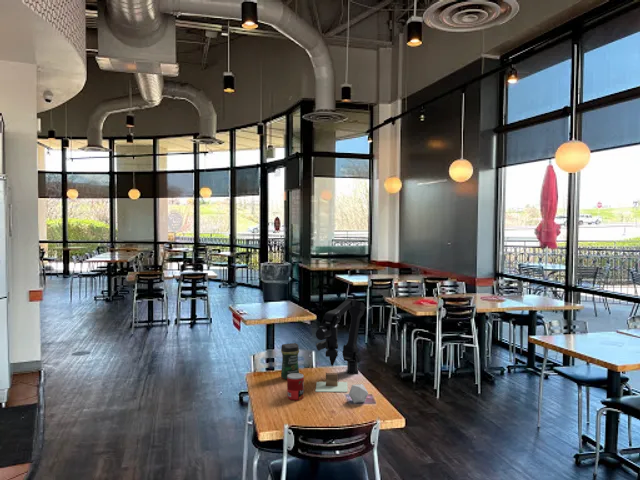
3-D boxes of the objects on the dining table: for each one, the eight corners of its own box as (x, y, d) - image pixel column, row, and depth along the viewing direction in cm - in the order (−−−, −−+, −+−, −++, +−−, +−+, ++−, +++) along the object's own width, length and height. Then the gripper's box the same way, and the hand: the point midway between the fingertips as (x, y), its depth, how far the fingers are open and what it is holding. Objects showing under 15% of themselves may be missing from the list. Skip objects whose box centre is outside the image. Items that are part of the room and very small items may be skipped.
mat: (316, 382, 247) (316, 381, 247) (347, 382, 246) (347, 381, 246) (315, 392, 233) (315, 391, 233) (347, 392, 232) (347, 391, 232)
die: (364, 407, 214) (373, 388, 218) (347, 398, 214) (356, 379, 218) (359, 407, 222) (368, 388, 226) (343, 398, 222) (352, 380, 226)
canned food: (301, 401, 221) (301, 378, 221) (285, 400, 223) (285, 377, 222) (305, 395, 229) (305, 373, 228) (289, 394, 230) (289, 372, 230)
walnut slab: (326, 384, 243) (325, 373, 243) (337, 384, 242) (337, 373, 242) (325, 386, 240) (325, 374, 240) (337, 386, 240) (337, 374, 240)
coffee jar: (284, 380, 250) (283, 346, 250) (279, 376, 258) (279, 342, 257) (301, 378, 254) (300, 344, 254) (296, 374, 261) (295, 341, 261)
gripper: (317, 332, 258) (318, 360, 258) (315, 340, 239) (315, 370, 240) (337, 332, 257) (338, 360, 258) (337, 340, 238) (337, 371, 239)
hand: (332, 365), depth 249 cm, fingers closed
